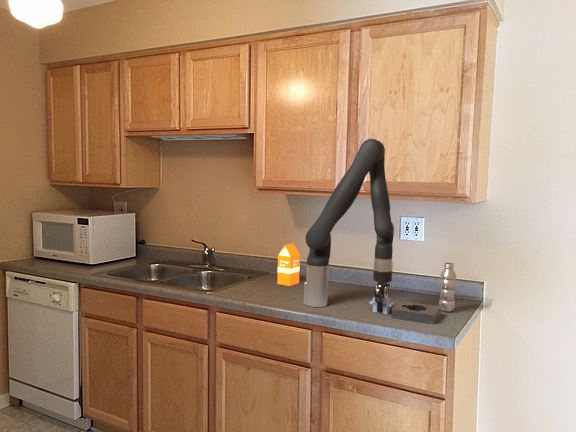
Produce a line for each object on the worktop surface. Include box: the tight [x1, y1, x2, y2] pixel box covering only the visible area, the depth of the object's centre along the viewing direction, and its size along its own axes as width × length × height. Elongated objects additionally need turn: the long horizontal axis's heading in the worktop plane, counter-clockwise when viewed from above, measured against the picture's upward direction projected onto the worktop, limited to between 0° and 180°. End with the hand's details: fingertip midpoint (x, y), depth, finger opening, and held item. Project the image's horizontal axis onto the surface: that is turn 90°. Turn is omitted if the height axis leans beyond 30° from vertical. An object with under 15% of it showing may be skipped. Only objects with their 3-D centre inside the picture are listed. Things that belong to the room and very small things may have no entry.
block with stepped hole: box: [391, 301, 442, 325], centre depth 194 cm, size 16×14×4 cm
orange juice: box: [276, 242, 301, 287], centre depth 247 cm, size 8×9×20 cm
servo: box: [368, 294, 395, 315], centre depth 199 cm, size 9×4×7 cm, turn 63°
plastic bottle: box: [438, 262, 457, 312], centre depth 202 cm, size 6×7×20 cm
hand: (381, 310), depth 199 cm, fingers closed on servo, 4 cm apart
